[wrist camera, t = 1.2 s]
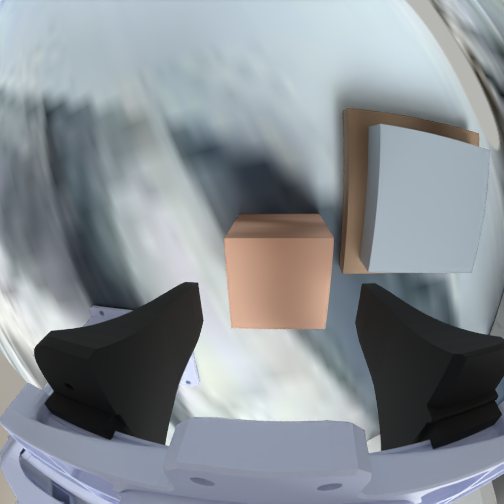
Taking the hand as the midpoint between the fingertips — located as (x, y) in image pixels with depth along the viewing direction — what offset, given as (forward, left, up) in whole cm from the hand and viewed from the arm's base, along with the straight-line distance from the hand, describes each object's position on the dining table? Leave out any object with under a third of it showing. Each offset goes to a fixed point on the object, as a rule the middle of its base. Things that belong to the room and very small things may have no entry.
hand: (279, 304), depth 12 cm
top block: (+9, +4, -5) cm, 11 cm away
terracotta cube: (0, 0, -7) cm, 7 cm away
